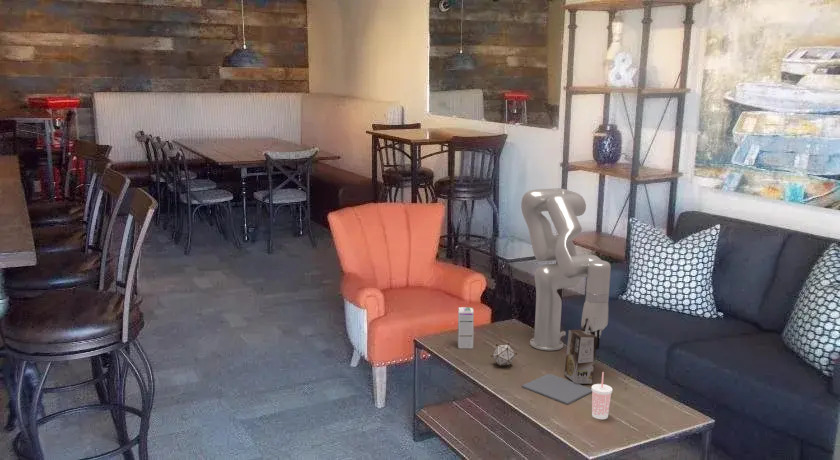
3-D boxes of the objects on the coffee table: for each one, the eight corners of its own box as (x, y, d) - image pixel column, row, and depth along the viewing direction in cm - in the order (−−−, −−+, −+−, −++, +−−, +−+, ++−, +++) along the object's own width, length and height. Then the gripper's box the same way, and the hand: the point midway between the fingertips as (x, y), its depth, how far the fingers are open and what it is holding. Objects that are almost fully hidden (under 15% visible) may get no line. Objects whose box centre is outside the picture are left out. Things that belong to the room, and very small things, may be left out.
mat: (549, 375, 249) (549, 373, 249) (594, 391, 236) (594, 389, 236) (521, 387, 238) (521, 385, 238) (567, 404, 226) (567, 403, 226)
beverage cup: (605, 410, 222) (608, 367, 219) (613, 419, 216) (617, 375, 214) (586, 412, 221) (589, 368, 218) (594, 421, 215) (597, 376, 213)
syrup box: (473, 348, 272) (474, 311, 269) (457, 348, 272) (458, 311, 269) (472, 343, 278) (473, 307, 275) (457, 343, 278) (458, 306, 275)
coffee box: (592, 383, 241) (598, 337, 239) (575, 384, 240) (580, 337, 237) (580, 374, 250) (585, 328, 248) (563, 374, 249) (568, 328, 246)
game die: (507, 376, 256) (515, 362, 249) (485, 366, 257) (493, 351, 250) (514, 358, 262) (522, 343, 255) (492, 348, 263) (500, 333, 256)
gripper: (599, 290, 253) (596, 340, 257) (575, 298, 243) (571, 350, 247) (618, 295, 248) (614, 346, 252) (594, 303, 238) (591, 356, 241)
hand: (593, 348), depth 249 cm, fingers closed
